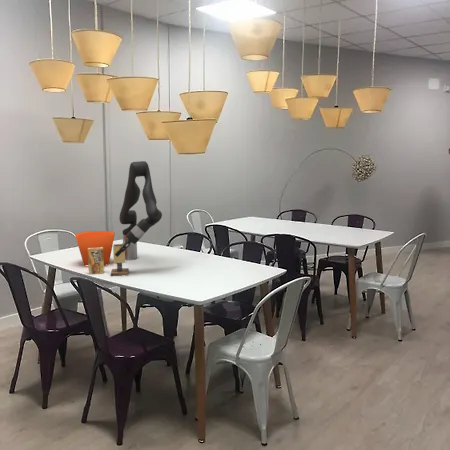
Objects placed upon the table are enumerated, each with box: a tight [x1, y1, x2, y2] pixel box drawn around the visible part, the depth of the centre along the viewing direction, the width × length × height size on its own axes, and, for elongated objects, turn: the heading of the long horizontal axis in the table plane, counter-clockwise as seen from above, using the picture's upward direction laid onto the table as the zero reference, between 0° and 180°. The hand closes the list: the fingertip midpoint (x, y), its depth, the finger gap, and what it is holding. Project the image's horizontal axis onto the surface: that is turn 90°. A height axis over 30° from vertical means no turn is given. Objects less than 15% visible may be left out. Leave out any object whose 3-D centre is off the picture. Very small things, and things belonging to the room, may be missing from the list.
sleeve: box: [112, 243, 126, 264], centre depth 291 cm, size 6×6×10 cm
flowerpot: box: [74, 230, 116, 266], centre depth 317 cm, size 25×25×20 cm
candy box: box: [88, 247, 105, 275], centre depth 292 cm, size 9×4×15 cm, turn 104°
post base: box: [110, 263, 130, 277], centre depth 292 cm, size 12×10×10 cm
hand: (116, 254), depth 290 cm, fingers closed on sleeve, 6 cm apart
